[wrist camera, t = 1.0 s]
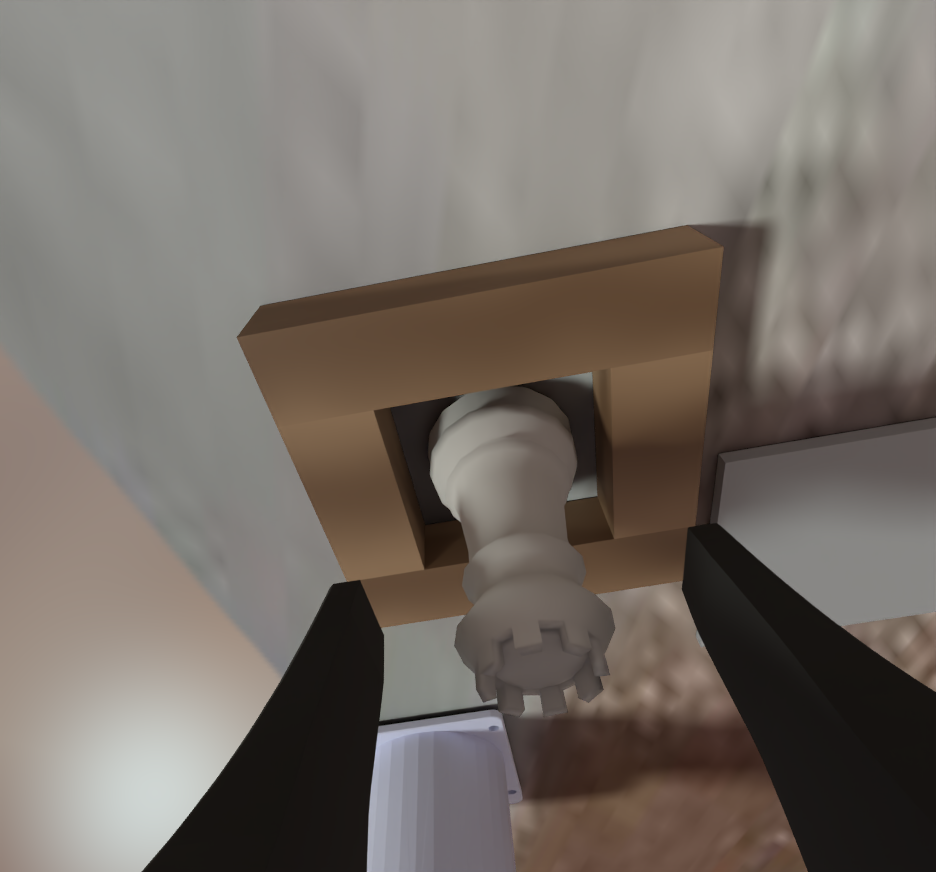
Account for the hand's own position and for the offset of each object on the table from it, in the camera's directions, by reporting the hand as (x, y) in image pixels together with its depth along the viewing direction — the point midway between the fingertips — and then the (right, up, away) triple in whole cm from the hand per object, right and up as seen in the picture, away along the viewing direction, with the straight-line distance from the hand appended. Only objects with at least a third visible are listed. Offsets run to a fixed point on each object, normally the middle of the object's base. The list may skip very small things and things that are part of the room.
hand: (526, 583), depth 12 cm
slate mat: (+13, -1, +8) cm, 15 cm away
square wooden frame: (0, +3, +5) cm, 6 cm away
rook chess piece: (0, +3, +5) cm, 6 cm away
